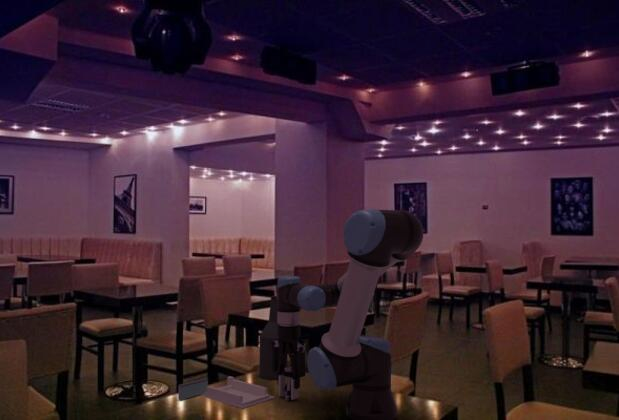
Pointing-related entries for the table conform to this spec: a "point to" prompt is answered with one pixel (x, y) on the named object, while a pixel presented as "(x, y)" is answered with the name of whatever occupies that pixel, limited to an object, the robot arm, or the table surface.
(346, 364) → the robot arm
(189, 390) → the dark slender plank
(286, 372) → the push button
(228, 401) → the tray
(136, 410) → the table surface
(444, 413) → the table surface
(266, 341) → the bottle
